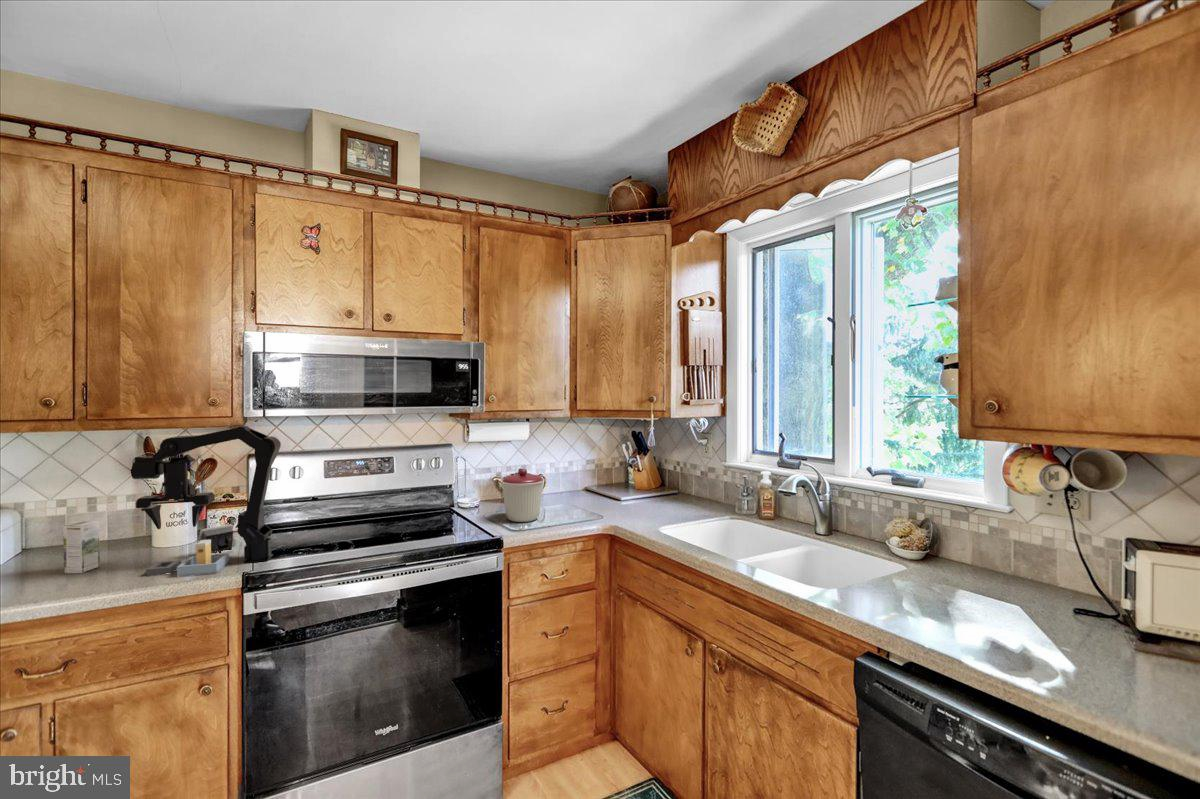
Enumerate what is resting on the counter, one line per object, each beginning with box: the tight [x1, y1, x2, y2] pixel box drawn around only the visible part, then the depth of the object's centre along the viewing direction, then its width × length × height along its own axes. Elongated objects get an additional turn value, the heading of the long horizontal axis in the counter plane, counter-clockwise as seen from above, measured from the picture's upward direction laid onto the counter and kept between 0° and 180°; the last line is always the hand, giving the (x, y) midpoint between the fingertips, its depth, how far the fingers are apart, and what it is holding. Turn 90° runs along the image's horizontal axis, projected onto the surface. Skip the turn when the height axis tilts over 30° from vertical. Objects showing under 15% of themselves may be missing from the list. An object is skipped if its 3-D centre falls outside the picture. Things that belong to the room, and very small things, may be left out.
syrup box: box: [62, 520, 101, 574], centre depth 164 cm, size 6×6×14 cm
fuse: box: [195, 539, 211, 565], centre depth 165 cm, size 2×4×8 cm, turn 16°
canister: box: [500, 468, 546, 523], centre depth 225 cm, size 18×18×21 cm
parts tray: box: [176, 552, 230, 577], centre depth 165 cm, size 10×10×3 cm
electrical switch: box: [198, 523, 234, 553], centre depth 180 cm, size 9×5×9 cm, turn 141°
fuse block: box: [145, 559, 182, 577], centre depth 164 cm, size 6×7×2 cm
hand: (177, 527), depth 168 cm, fingers open, 9 cm apart
